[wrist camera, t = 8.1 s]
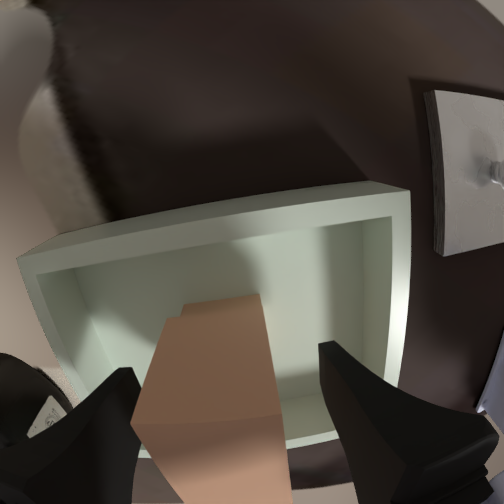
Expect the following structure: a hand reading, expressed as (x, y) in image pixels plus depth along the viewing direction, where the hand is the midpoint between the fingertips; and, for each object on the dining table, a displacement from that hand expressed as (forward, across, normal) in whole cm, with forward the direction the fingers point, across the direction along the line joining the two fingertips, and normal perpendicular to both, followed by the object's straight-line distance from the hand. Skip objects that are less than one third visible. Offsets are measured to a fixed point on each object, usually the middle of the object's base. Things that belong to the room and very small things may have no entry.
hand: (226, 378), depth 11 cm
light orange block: (+3, 0, 0) cm, 3 cm away
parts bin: (+4, 0, 0) cm, 4 cm away
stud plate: (+4, -15, -6) cm, 17 cm away
